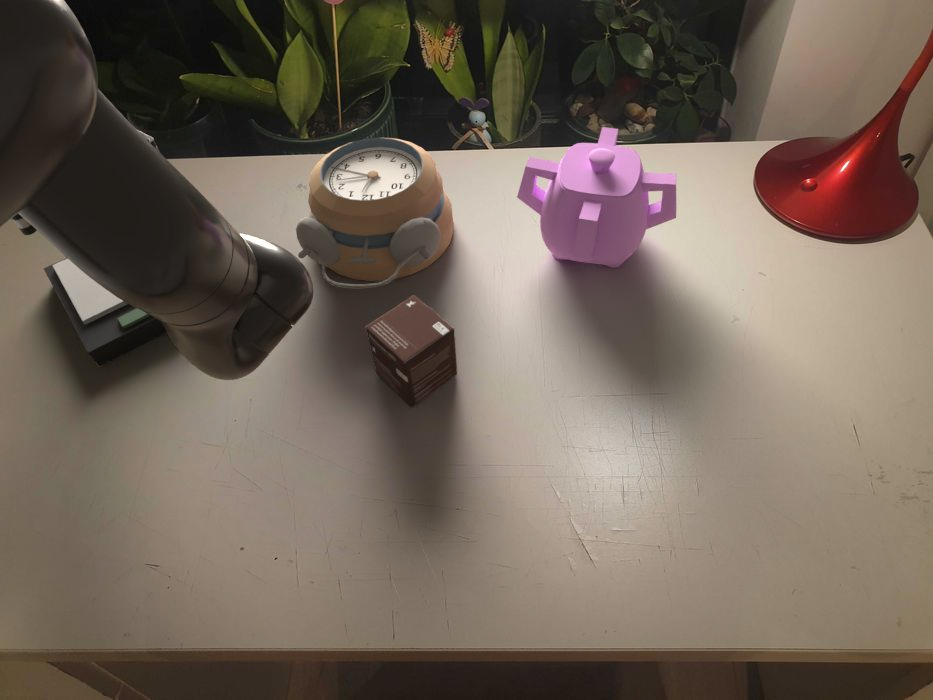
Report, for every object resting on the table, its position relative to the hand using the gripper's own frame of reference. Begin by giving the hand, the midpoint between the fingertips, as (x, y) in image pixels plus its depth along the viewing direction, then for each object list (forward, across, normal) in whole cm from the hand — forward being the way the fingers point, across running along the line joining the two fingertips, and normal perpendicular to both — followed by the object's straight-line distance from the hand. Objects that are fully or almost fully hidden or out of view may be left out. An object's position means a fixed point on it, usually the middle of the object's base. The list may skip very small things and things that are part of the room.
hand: (41, 144), depth 63 cm
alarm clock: (-19, -22, +18) cm, 35 cm away
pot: (-38, -39, +18) cm, 57 cm away
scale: (-3, 0, +18) cm, 18 cm away
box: (-36, -12, +18) cm, 42 cm away
